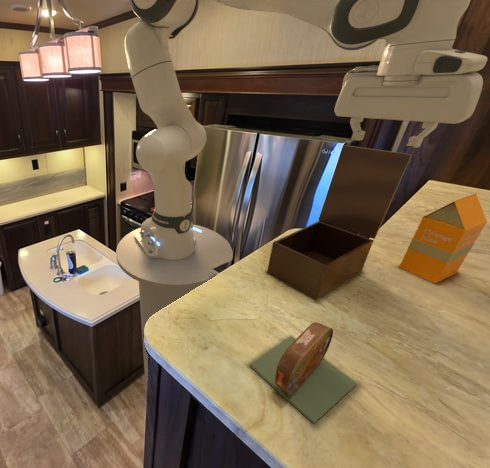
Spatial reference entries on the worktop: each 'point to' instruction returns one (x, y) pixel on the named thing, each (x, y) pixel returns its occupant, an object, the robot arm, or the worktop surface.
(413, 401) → the worktop surface
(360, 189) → the lid
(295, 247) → the brown open box
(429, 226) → the orange juice
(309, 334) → the tin
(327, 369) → the mat
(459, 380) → the worktop surface
